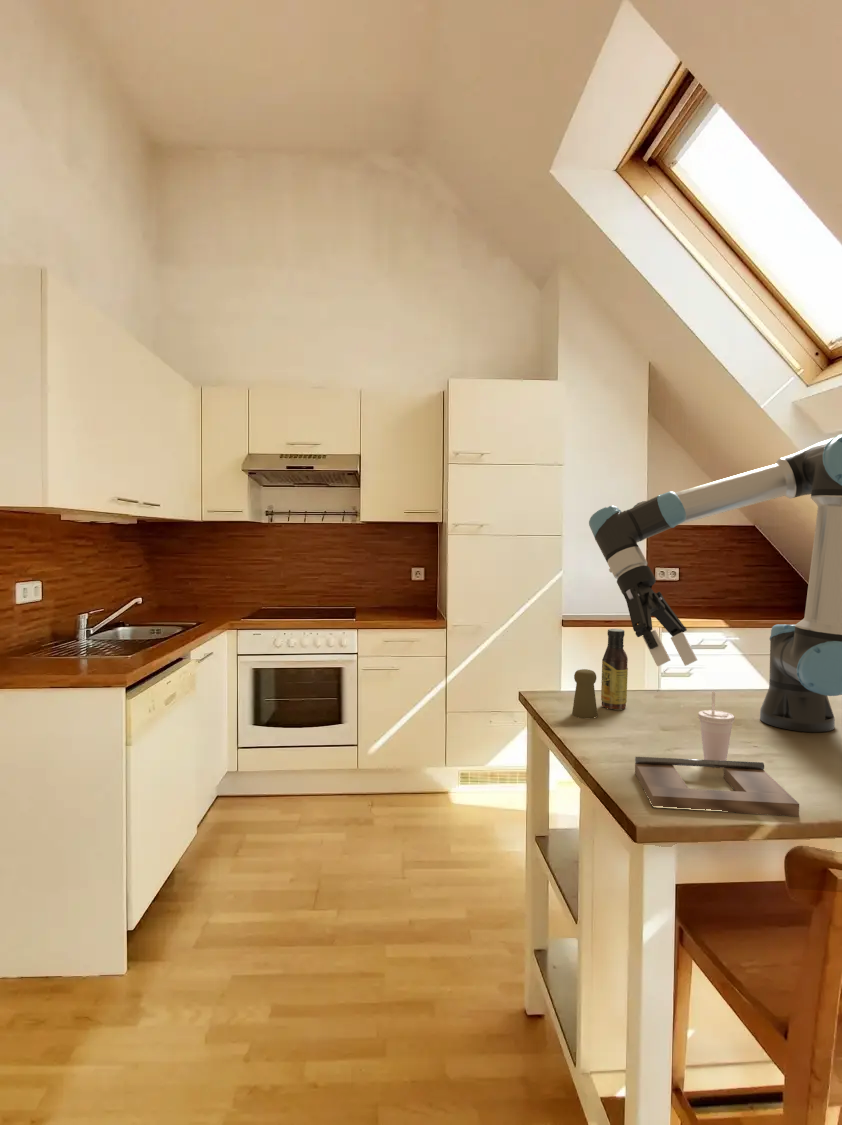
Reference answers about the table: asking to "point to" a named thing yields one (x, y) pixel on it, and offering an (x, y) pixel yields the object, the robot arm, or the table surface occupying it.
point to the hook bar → (699, 763)
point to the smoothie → (715, 732)
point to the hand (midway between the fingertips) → (678, 663)
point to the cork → (585, 694)
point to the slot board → (718, 791)
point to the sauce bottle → (614, 672)
